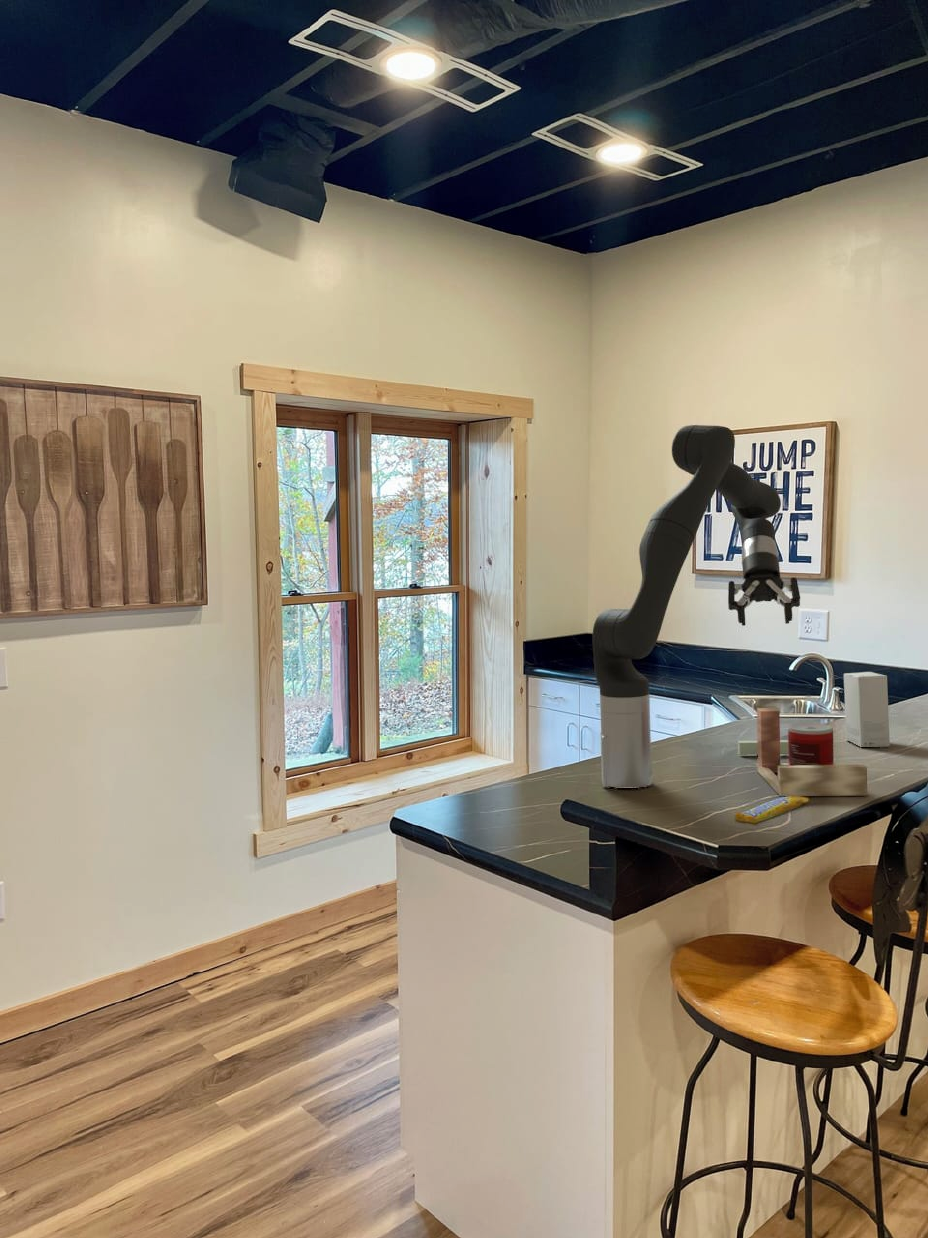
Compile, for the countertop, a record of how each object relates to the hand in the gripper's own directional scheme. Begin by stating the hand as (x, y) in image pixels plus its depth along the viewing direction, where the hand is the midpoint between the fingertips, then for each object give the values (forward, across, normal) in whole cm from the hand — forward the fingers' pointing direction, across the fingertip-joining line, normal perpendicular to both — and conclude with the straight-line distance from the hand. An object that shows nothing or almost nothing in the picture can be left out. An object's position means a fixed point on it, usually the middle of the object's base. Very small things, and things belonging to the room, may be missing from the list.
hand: (765, 622), depth 184 cm
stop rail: (+19, +1, +21) cm, 29 cm away
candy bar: (+48, -2, -11) cm, 49 cm away
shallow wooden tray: (+34, +5, +4) cm, 35 cm away
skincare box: (+12, +20, +32) cm, 39 cm away
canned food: (+36, +6, +2) cm, 36 cm away
